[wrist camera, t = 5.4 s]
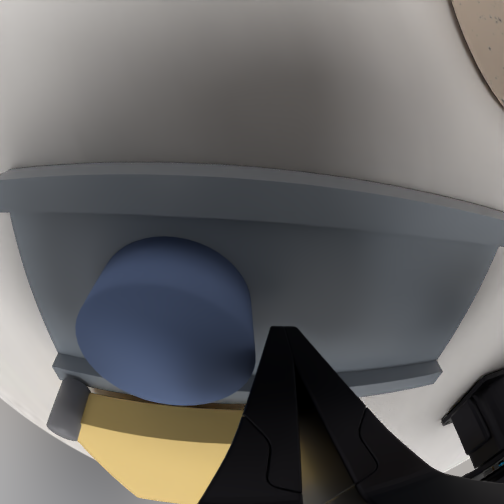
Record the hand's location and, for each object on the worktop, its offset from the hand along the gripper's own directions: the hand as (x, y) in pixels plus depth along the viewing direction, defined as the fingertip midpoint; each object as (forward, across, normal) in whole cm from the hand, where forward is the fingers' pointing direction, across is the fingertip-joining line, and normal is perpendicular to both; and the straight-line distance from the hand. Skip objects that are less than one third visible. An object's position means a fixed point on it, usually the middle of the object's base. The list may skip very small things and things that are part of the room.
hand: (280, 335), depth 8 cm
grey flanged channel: (+2, 0, 0) cm, 2 cm away
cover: (0, +4, +12) cm, 13 cm away
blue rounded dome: (+1, +3, 0) cm, 4 cm away
